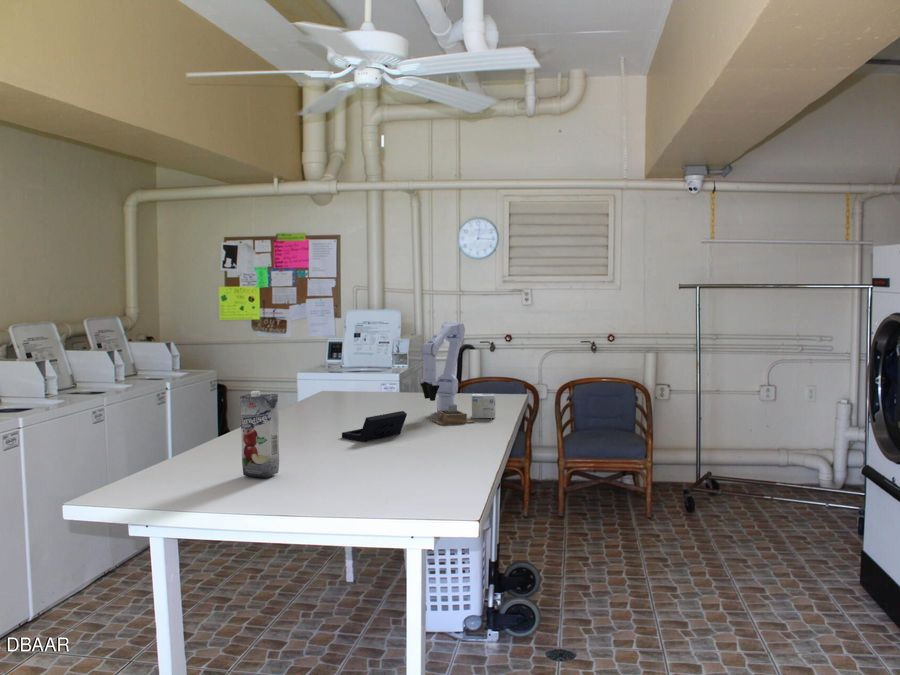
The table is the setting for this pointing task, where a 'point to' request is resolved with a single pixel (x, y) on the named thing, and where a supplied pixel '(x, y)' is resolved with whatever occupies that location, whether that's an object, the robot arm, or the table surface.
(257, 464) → the juice carton
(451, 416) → the walnut well
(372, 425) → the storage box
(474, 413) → the light bulb box
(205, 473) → the table surface
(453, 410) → the steel block
